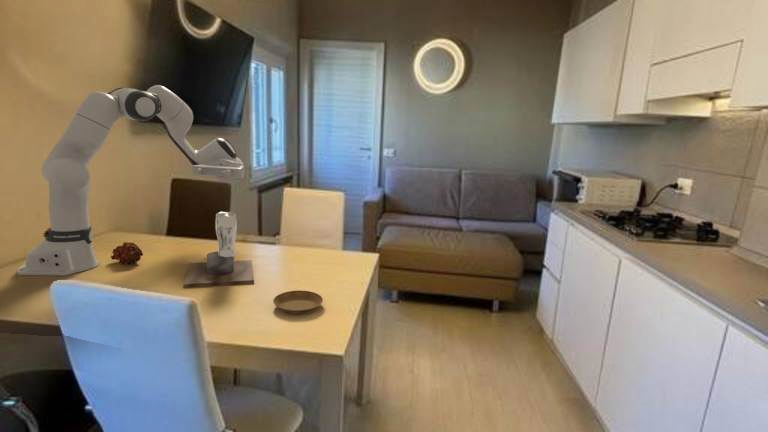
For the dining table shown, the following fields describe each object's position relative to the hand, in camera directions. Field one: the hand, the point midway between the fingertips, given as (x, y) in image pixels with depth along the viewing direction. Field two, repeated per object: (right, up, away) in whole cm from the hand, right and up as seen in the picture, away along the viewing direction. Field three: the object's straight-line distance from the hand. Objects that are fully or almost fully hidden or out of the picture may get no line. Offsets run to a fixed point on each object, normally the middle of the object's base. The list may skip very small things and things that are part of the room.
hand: (211, 172), depth 170 cm
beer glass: (+12, -31, -17) cm, 37 cm away
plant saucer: (+42, -45, -38) cm, 72 cm away
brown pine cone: (-27, -35, -10) cm, 45 cm away
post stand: (+9, -38, -16) cm, 42 cm away
